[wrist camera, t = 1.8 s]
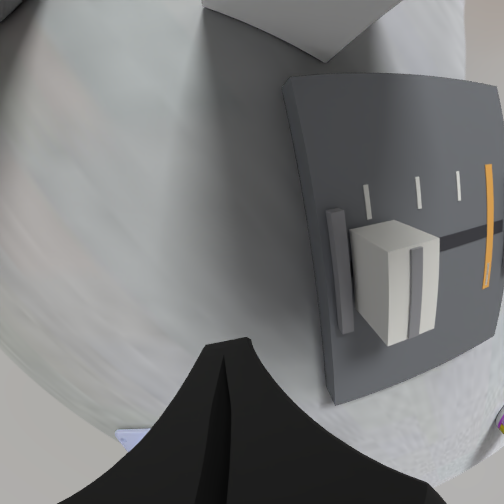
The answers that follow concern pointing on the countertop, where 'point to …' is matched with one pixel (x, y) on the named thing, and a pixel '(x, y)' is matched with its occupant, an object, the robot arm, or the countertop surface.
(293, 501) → the robot arm
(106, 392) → the countertop surface
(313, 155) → the console board
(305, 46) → the milk carton
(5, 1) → the smart speaker
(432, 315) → the fader knob
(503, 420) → the supplement bottle
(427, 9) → the countertop surface
